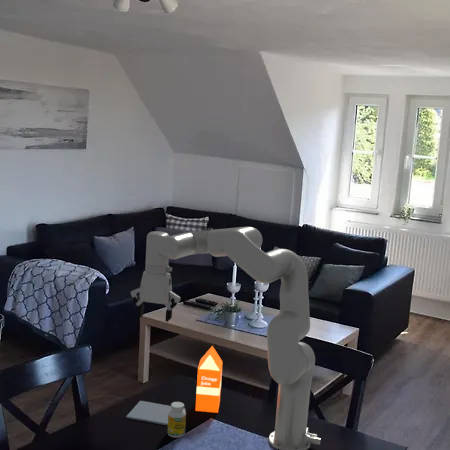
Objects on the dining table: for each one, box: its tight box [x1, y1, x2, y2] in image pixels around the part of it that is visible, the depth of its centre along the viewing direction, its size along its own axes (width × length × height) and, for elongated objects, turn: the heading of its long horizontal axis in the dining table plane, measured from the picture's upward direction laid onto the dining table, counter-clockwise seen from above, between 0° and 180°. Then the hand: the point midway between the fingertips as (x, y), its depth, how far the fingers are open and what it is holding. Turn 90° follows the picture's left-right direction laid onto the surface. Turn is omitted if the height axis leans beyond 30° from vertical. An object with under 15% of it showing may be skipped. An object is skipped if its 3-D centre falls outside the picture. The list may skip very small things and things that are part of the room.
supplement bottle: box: [167, 401, 187, 439], centre depth 194 cm, size 5×5×10 cm
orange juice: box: [194, 345, 223, 414], centre depth 213 cm, size 8×9×20 cm
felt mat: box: [125, 400, 187, 427], centre depth 206 cm, size 16×12×1 cm
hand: (154, 318), depth 213 cm, fingers open, 9 cm apart
